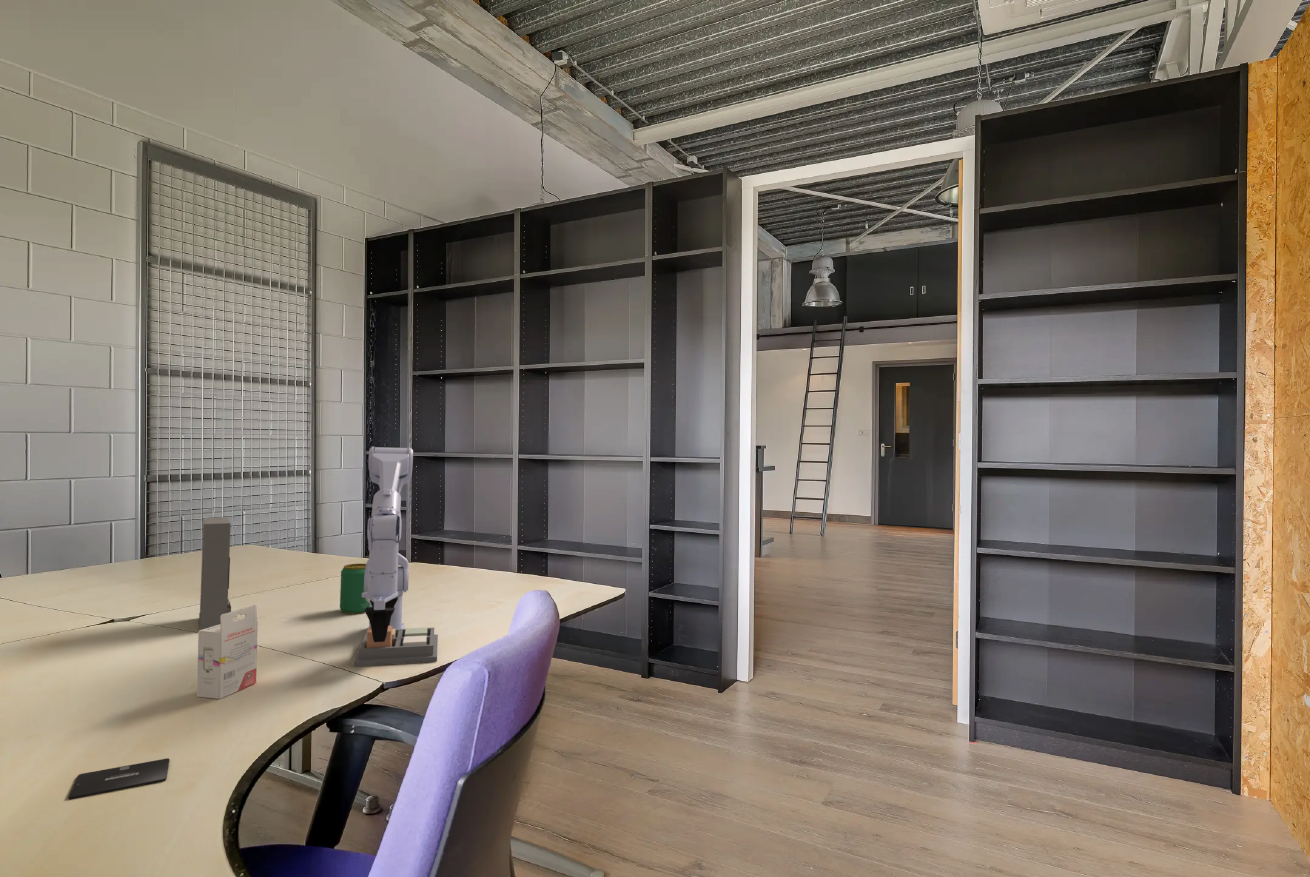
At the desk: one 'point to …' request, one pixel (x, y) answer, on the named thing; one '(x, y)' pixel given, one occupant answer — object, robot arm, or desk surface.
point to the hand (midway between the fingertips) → (381, 636)
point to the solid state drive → (119, 778)
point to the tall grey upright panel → (214, 571)
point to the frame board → (401, 648)
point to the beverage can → (353, 589)
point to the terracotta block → (379, 644)
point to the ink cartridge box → (228, 654)
